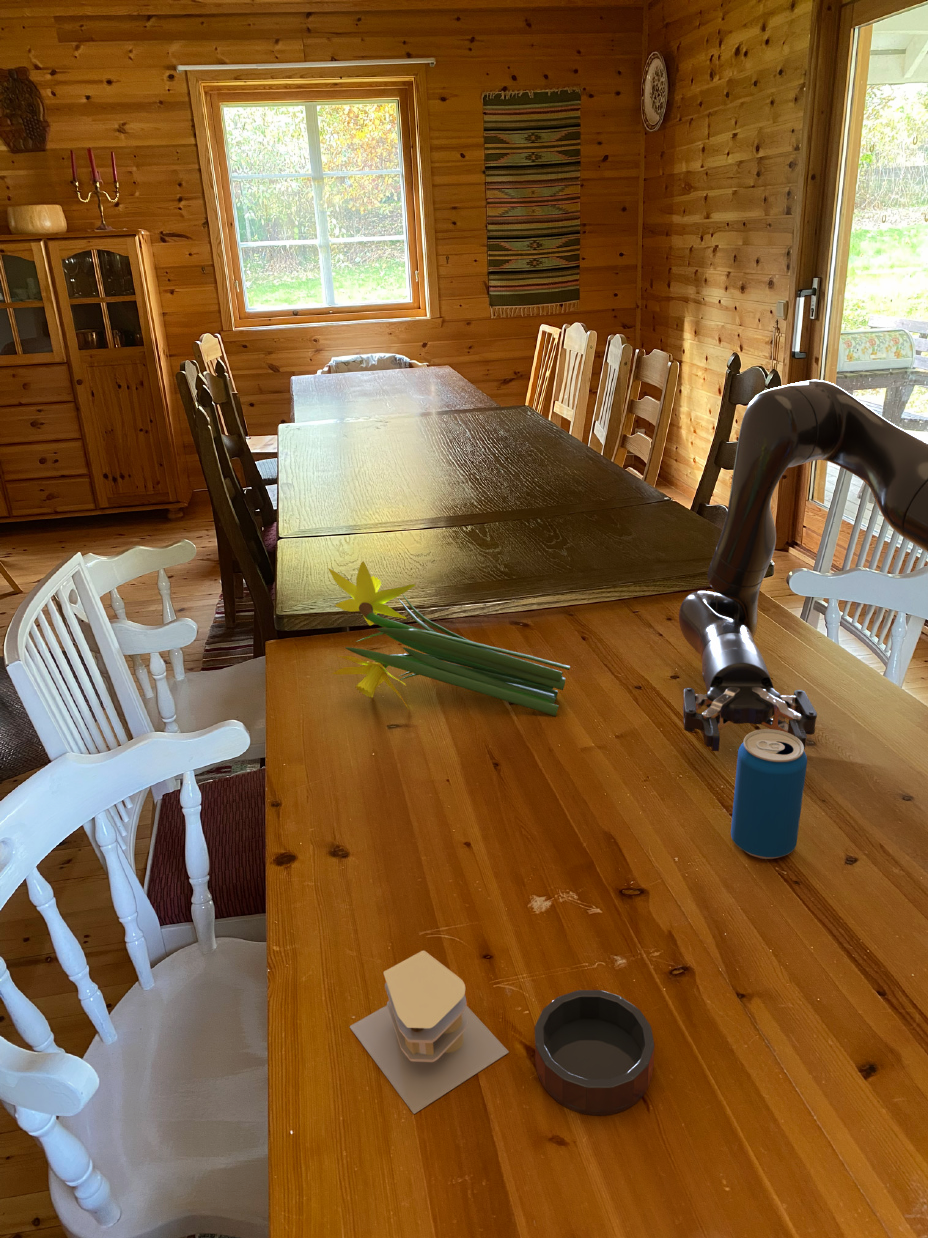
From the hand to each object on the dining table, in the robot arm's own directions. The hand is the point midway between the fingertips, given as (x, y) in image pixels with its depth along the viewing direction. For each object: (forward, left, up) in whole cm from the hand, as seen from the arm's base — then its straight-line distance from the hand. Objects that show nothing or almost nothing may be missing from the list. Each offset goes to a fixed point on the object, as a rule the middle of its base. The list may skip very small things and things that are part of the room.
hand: (757, 745), depth 98 cm
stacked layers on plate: (+19, +42, -7) cm, 47 cm away
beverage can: (-2, +7, -7) cm, 10 cm away
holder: (+6, +39, -7) cm, 40 cm away
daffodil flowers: (+42, -10, -7) cm, 43 cm away
